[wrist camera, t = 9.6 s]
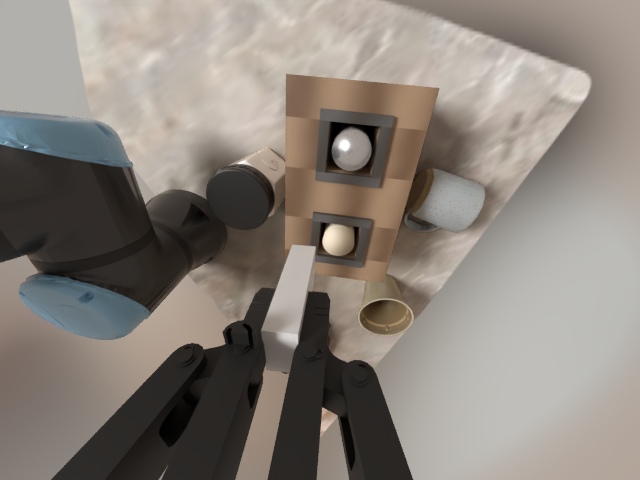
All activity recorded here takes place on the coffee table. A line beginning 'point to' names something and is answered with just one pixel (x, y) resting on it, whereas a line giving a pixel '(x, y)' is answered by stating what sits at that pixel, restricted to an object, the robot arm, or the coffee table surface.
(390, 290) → the flower pot
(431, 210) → the ceramic mug
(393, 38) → the coffee table surface
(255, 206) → the jar
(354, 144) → the peg steel
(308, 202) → the walnut block
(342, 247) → the peg ash
